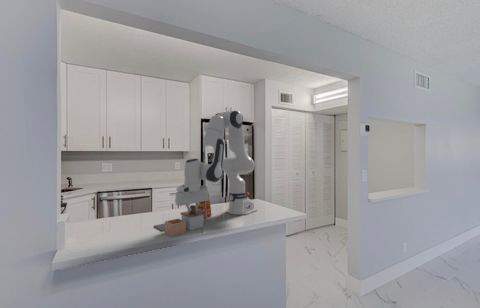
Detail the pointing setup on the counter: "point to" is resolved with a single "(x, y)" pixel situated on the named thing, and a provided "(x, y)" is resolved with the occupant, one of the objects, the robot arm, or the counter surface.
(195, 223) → the blue-grey open box
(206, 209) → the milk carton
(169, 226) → the orange open box
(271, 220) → the counter surface
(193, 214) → the lid
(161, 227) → the mat
